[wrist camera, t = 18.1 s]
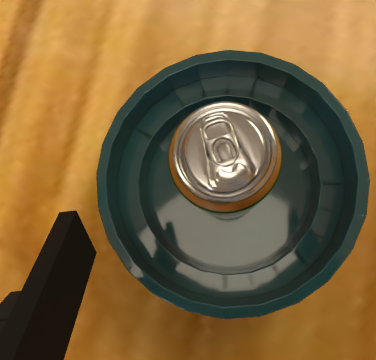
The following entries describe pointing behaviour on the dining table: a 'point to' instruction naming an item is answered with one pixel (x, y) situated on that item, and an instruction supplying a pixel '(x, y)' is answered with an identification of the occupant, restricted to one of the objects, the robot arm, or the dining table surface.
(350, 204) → the glazed bowl
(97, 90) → the dining table surface
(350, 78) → the dining table surface
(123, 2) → the dining table surface
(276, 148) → the soda can
